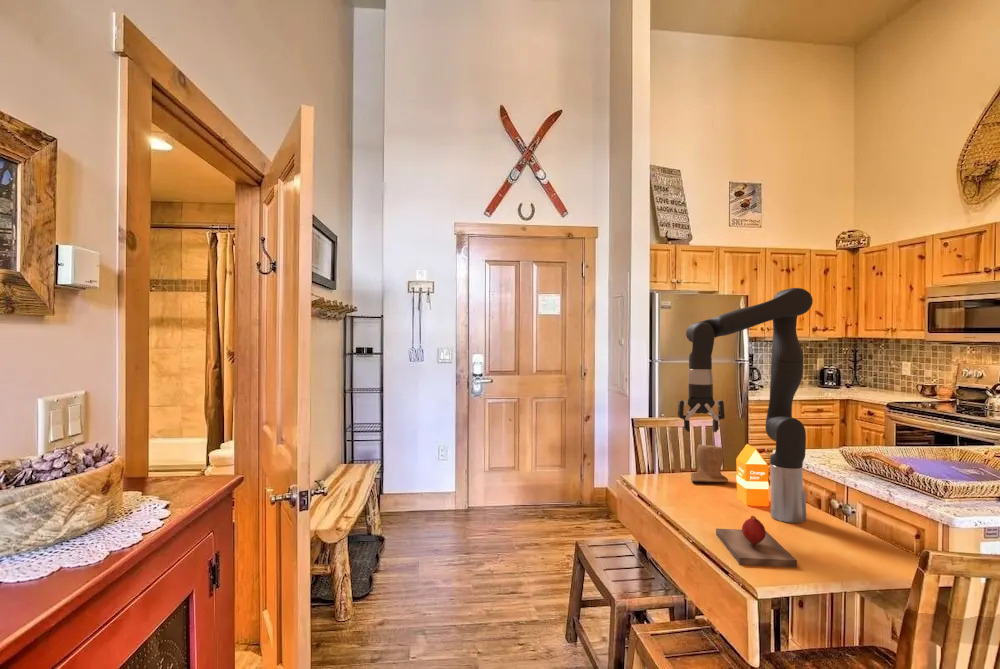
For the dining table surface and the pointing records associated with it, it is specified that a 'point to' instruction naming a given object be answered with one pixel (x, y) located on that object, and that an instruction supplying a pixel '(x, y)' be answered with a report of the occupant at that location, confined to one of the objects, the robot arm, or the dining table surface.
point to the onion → (753, 530)
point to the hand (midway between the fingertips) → (701, 431)
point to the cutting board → (755, 550)
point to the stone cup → (709, 464)
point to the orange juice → (752, 478)
